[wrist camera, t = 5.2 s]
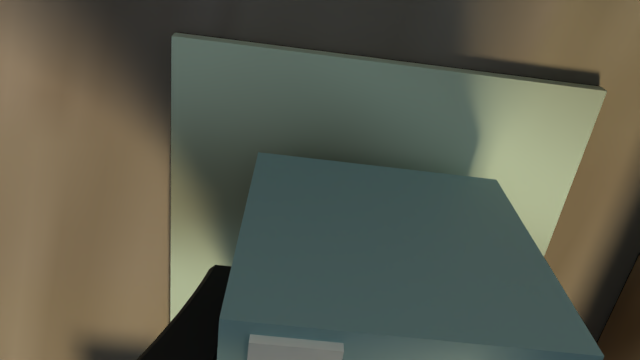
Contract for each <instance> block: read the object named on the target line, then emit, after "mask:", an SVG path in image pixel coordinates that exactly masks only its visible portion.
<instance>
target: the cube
mask: <svg viewBox="0 0 640 360" xmlns="http://www.w3.org/2000/svg"><path fill="white" fill-rule="evenodd" d="M603 358H604V355H603V353H602V352H601V350H600V348H599V347H598V345H597V343H596V342H595V340H594V339H593V337H592V335H591V334H590V332H589V330H588V329H587V327H586V325H585V324H584V322H583V320H582V319H581V317H580V316H579V314H578V312H577V311H576V309H575V307H574V306H573V304H572V302H571V301H570V299H569V298H568V296H567V294H566V293H565V291H564V289H563V288H562V286H561V284H560V283H559V281H558V280H557V278H556V276H555V275H554V273H553V271H552V270H551V268H550V266H549V265H548V263H547V261H546V260H545V258H544V257H543V255H542V253H541V252H540V250H539V248H538V247H537V245H536V243H535V242H534V240H533V239H532V237H531V235H530V234H529V232H528V230H527V229H526V227H525V225H524V224H523V222H522V221H521V219H520V217H519V216H518V214H517V212H516V211H515V209H514V207H513V206H512V204H511V202H510V201H509V199H508V198H507V196H506V194H505V193H504V191H503V189H502V188H501V186H500V184H499V183H498V181H497V180H496V179H487V178H479V177H470V176H461V175H452V174H444V173H435V172H426V171H418V170H409V169H400V168H391V167H383V166H374V165H365V164H356V163H348V162H339V161H330V160H322V159H313V158H304V157H295V156H287V155H278V154H269V153H260V152H258V155H257V160H256V164H255V168H254V172H253V177H252V181H251V185H250V189H249V194H248V198H247V202H246V207H245V211H244V215H243V219H242V224H241V228H240V232H239V236H238V241H237V245H236V249H235V253H234V258H233V262H232V266H231V271H230V275H229V279H228V283H227V288H226V292H225V296H224V300H223V305H222V309H221V313H220V317H219V330H218V348H217V360H603Z"/></svg>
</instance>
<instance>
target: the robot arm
mask: <svg viewBox="0 0 640 360" xmlns="http://www.w3.org/2000/svg"><path fill="white" fill-rule="evenodd" d="M230 271H231V266H223V265H214V266H213V267H211V268H210V269H209V270H208V272H207V274H206V275H205V277H204V278H203V280H202V281H201V283H200V284H199V286H198V287H197V289H196V290H195V291H194V293H193V294H192V296H191V297H190V298H189V300H188V301H187V302H186V303H185V305H184V306H183V307H182V309H181V310H180V311H179V312H178V314H177V315H176V316H175V317H174V318H173V320H172V321H171V322H170V323H169V324H168V326H167V327H166V328H165V329H164V330H163V332H162V333H161V334H160V335H159V336H158V337H157V339H156V340H155V341H154V342H153V343H152V344H151V345H150V346H149V347H148V348H147V349H146V350H145V351H144V353H143V354H142V355H141V356H140V357H139V358H138V359H137V360H217V348H218V330H219V317H220V313H221V309H222V305H223V300H224V296H225V292H226V288H227V283H228V279H229V275H230Z"/></svg>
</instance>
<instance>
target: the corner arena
mask: <svg viewBox="0 0 640 360" xmlns="http://www.w3.org/2000/svg"><path fill="white" fill-rule="evenodd" d="M606 93H607V91H606V90H605V89H603V88H602V87H600V86H592V85H584V84H576V83H568V82H560V81H553V80H545V79H537V78H529V77H521V76H513V75H505V74H498V73H490V72H482V71H474V70H466V69H458V68H450V67H443V66H435V65H427V64H419V63H411V62H403V61H395V60H388V59H380V58H372V57H364V56H356V55H348V54H340V53H333V52H325V51H317V50H309V49H301V48H293V47H285V46H278V45H270V44H262V43H254V42H246V41H238V40H230V39H223V38H215V37H207V36H199V35H191V34H183V33H174V34H173V35H172V39H171V288H170V322H171V321H172V320H173V318H174V317H175V316H176V315H177V314H178V312H179V311H180V310H181V309H182V307H183V306H184V305H185V303H186V302H187V301H188V300H189V298H190V297H191V296H192V294H193V293H194V291H195V290H196V289H197V287H198V286H199V284H200V283H201V281H202V280H203V278H204V277H205V275H206V274H207V272H208V270H209V269H210V268H211V267H213V266H214V265H223V266H232V262H233V258H234V253H235V249H236V245H237V241H238V236H239V232H240V228H241V224H242V219H243V215H244V211H245V207H246V202H247V198H248V194H249V189H250V185H251V181H252V177H253V172H254V168H255V164H256V160H257V155H258V152H260V153H269V154H278V155H287V156H295V157H304V158H313V159H322V160H330V161H339V162H348V163H356V164H365V165H374V166H383V167H391V168H400V169H409V170H418V171H426V172H435V173H444V174H452V175H461V176H470V177H479V178H487V179H496V180H497V181H498V183H499V184H500V186H501V188H502V189H503V191H504V193H505V194H506V196H507V198H508V199H509V201H510V202H511V204H512V206H513V207H514V209H515V211H516V212H517V214H518V216H519V217H520V219H521V221H522V222H523V224H524V225H525V227H526V229H527V230H528V232H529V234H530V235H531V237H532V239H533V240H534V242H535V243H536V245H537V247H538V248H539V250H540V252H541V253H542V255H543V257H544V255H545V253H546V250H547V247H548V245H549V242H550V240H551V237H552V234H553V232H554V229H555V227H556V224H557V221H558V219H559V216H560V213H561V211H562V208H563V206H564V203H565V200H566V198H567V195H568V192H569V190H570V187H571V185H572V182H573V179H574V177H575V174H576V171H577V169H578V166H579V164H580V161H581V158H582V156H583V153H584V150H585V148H586V145H587V143H588V140H589V137H590V135H591V132H592V129H593V127H594V124H595V122H596V119H597V116H598V114H599V111H600V108H601V106H602V103H603V101H604V98H605V95H606ZM597 345H598V347H599V348H600V350H601V352H602V353H603V355H604V358H603V360H640V254H639V256H638V259H637V261H636V263H635V265H634V267H633V269H632V271H631V273H630V275H629V277H628V280H627V282H626V284H625V286H624V288H623V290H622V292H621V294H620V296H619V298H618V301H617V303H616V305H615V307H614V309H613V311H612V313H611V315H610V317H609V319H608V322H607V324H606V326H605V328H604V330H603V332H602V334H601V336H600V338H599V340H598V343H597Z"/></svg>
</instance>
